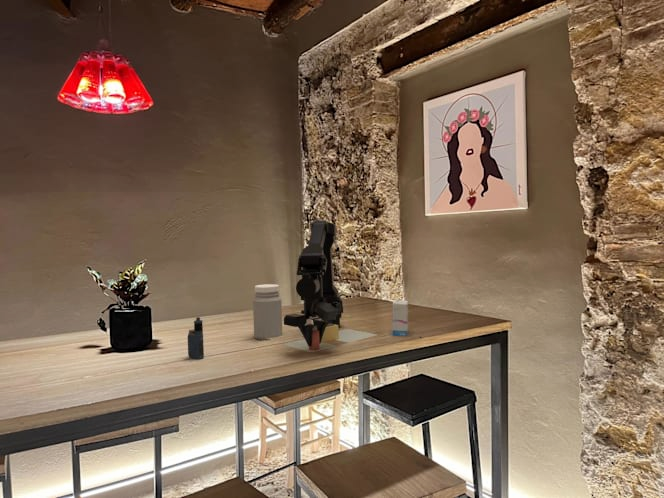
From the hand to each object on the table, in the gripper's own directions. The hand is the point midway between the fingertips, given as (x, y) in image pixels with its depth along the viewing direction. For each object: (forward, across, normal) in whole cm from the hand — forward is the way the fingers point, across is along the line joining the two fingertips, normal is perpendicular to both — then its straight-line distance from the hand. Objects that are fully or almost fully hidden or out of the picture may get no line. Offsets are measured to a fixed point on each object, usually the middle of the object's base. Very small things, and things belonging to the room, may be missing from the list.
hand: (314, 345), depth 144 cm
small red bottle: (+1, 0, 0) cm, 1 cm away
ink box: (+2, +34, -6) cm, 35 cm away
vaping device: (+2, -27, +22) cm, 35 cm away
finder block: (+1, +10, +6) cm, 12 cm away
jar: (+2, +3, +27) cm, 27 cm away
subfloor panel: (+2, +12, +5) cm, 13 cm away
